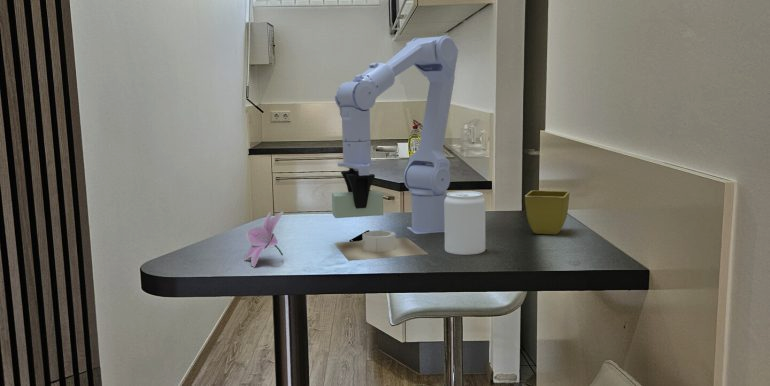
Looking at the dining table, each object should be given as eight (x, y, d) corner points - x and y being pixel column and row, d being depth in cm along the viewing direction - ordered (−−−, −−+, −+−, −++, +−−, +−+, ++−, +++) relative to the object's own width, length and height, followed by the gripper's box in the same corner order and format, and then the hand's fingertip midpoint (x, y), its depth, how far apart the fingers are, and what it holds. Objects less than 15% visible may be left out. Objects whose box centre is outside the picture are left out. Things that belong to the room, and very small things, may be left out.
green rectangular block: (379, 211, 150) (378, 190, 149) (383, 215, 145) (382, 193, 145) (332, 214, 148) (331, 193, 147) (335, 218, 143) (334, 196, 143)
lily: (251, 257, 146) (229, 221, 141) (303, 234, 145) (282, 197, 141) (251, 290, 135) (227, 252, 131) (307, 265, 135) (284, 226, 130)
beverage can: (459, 259, 136) (458, 198, 134) (437, 251, 143) (436, 193, 141) (493, 254, 139) (493, 194, 138) (470, 246, 146) (470, 189, 145)
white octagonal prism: (390, 243, 148) (390, 229, 147) (398, 250, 142) (398, 235, 141) (360, 246, 146) (360, 231, 146) (367, 252, 140) (367, 238, 140)
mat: (406, 240, 154) (406, 237, 154) (428, 257, 138) (428, 253, 138) (334, 245, 150) (334, 242, 150) (348, 263, 134) (348, 260, 134)
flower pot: (523, 235, 156) (523, 195, 155) (530, 227, 164) (531, 189, 163) (564, 237, 153) (564, 196, 151) (569, 229, 161) (570, 191, 159)
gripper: (331, 139, 150) (334, 201, 152) (343, 144, 136) (345, 213, 138) (364, 137, 152) (365, 199, 154) (378, 142, 138) (380, 210, 140)
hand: (358, 206), depth 146 cm, fingers closed on green rectangular block, 4 cm apart
